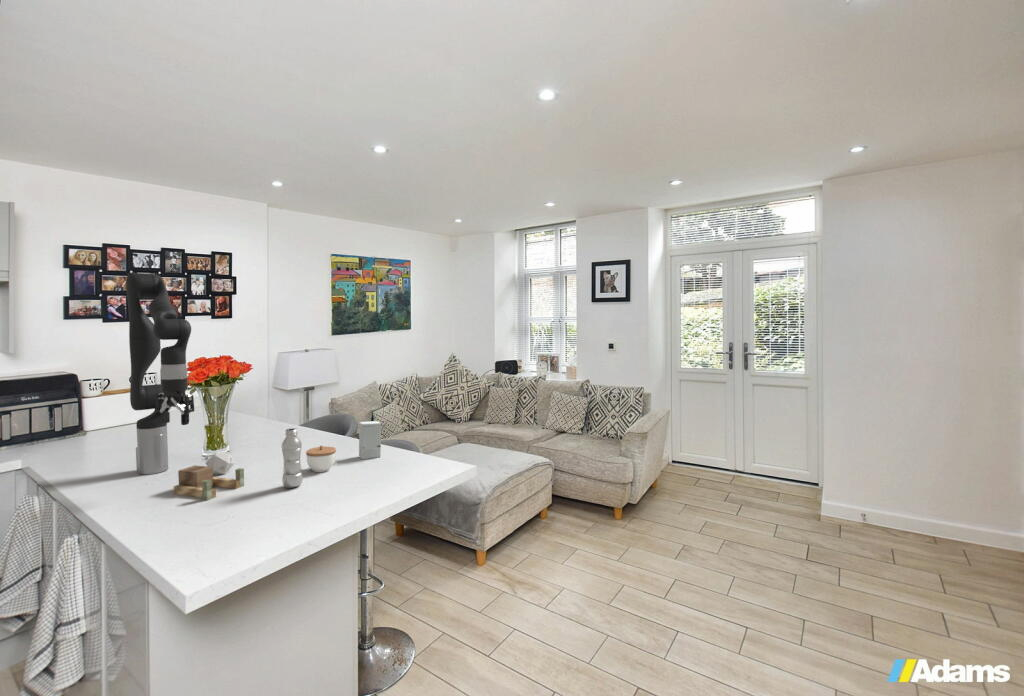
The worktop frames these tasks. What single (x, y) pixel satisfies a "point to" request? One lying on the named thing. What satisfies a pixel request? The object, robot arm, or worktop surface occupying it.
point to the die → (220, 462)
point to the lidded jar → (321, 458)
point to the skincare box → (369, 439)
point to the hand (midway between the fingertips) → (175, 423)
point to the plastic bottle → (292, 459)
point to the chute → (206, 486)
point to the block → (195, 476)
